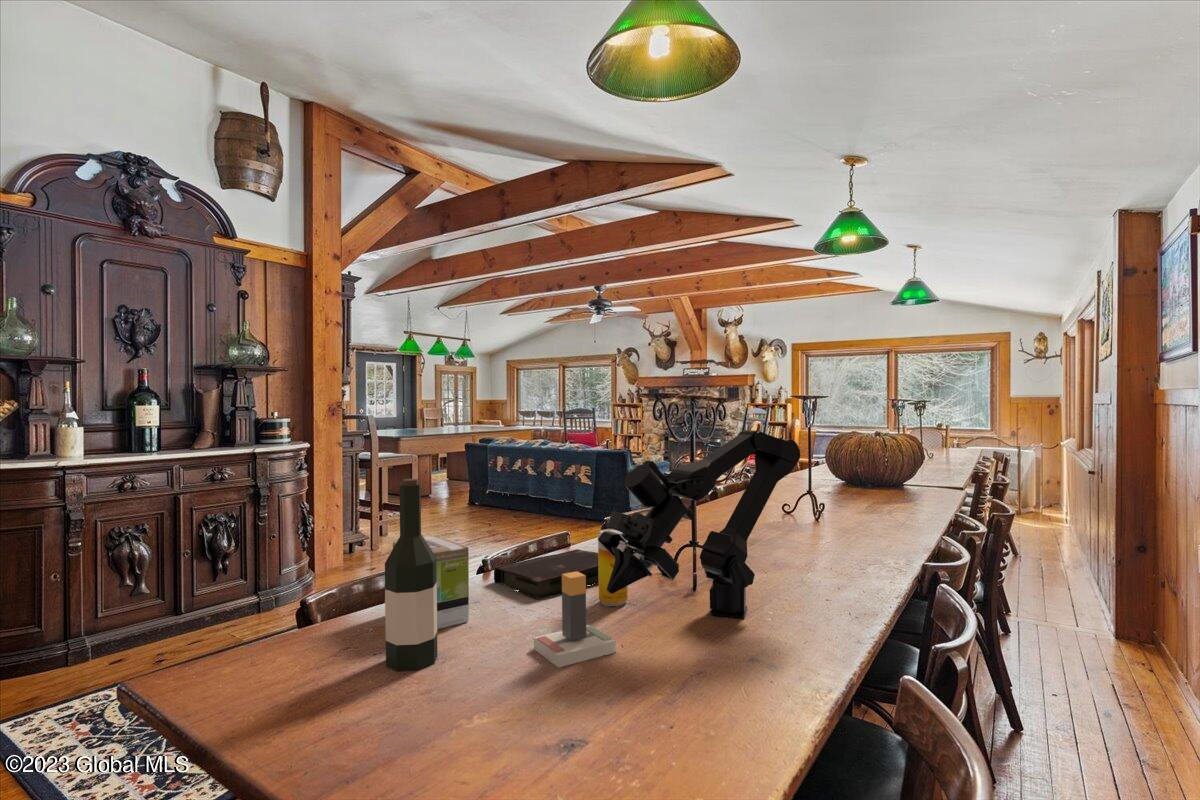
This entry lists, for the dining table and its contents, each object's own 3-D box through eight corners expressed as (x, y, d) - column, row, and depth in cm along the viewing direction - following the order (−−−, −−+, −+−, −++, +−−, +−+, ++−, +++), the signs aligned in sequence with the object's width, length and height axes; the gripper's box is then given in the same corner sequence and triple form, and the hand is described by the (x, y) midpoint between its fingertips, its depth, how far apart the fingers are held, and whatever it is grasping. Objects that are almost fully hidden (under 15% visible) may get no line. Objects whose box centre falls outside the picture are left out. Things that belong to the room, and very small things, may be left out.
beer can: (625, 608, 131) (624, 535, 131) (596, 606, 132) (595, 534, 132) (629, 599, 137) (629, 529, 137) (601, 597, 138) (601, 528, 138)
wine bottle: (390, 675, 100) (387, 484, 100) (381, 656, 108) (379, 478, 107) (443, 665, 104) (441, 480, 104) (431, 647, 111) (429, 475, 111)
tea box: (471, 622, 124) (470, 546, 124) (421, 634, 118) (420, 554, 118) (437, 603, 136) (437, 533, 136) (391, 613, 129) (390, 540, 129)
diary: (493, 586, 150) (492, 564, 150) (576, 566, 167) (575, 547, 167) (539, 603, 136) (539, 579, 136) (625, 580, 152) (624, 559, 153)
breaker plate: (588, 635, 116) (588, 623, 116) (615, 652, 108) (615, 639, 108) (533, 648, 110) (533, 636, 110) (558, 667, 103) (558, 653, 103)
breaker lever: (577, 631, 111) (577, 571, 111) (586, 637, 109) (585, 575, 109) (562, 635, 110) (561, 574, 110) (570, 640, 107) (570, 578, 107)
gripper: (606, 488, 124) (555, 553, 118) (665, 501, 108) (610, 576, 102) (639, 525, 128) (592, 589, 122) (701, 543, 112) (650, 617, 106)
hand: (609, 591), depth 113 cm, fingers closed
